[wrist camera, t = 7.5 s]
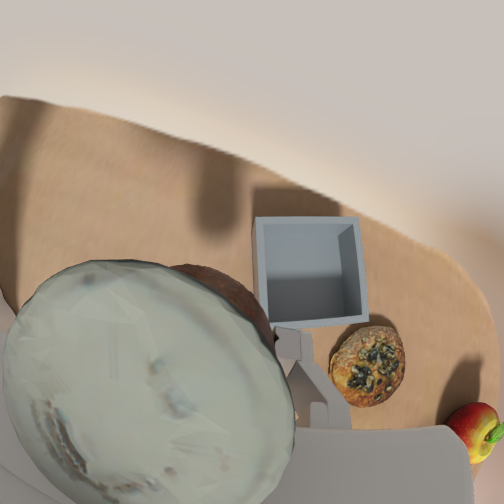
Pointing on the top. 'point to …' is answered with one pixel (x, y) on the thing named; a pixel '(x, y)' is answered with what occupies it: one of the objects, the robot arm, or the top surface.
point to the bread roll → (368, 366)
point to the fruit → (477, 429)
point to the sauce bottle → (149, 386)
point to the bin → (309, 271)
